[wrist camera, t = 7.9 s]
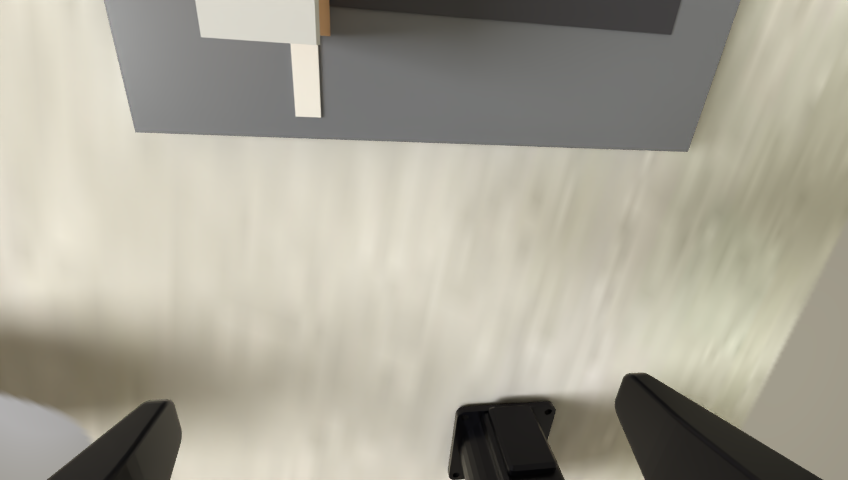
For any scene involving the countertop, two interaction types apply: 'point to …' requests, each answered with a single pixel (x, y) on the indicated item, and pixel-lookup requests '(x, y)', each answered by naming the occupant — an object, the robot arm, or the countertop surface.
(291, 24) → the fader tab
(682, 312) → the countertop surface
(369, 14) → the console
